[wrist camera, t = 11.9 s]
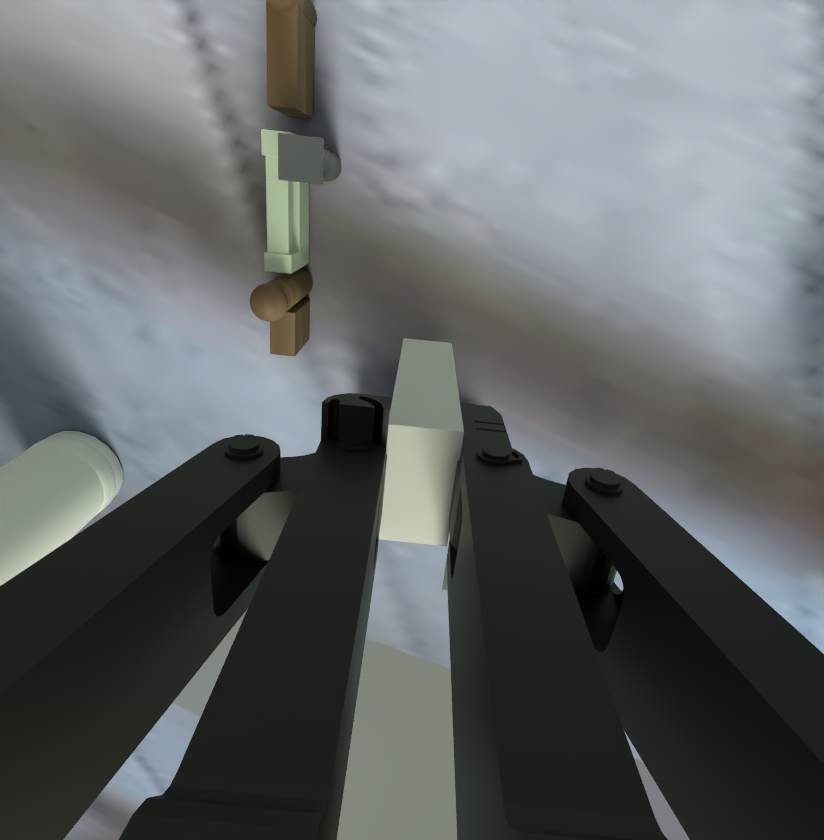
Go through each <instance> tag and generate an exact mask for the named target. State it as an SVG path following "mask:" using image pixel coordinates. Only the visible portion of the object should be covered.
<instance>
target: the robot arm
mask: <svg viewBox="0 0 824 840" xmlns="http://www.w3.org/2000/svg"><path fill="white" fill-rule="evenodd" d="M449 533H450V541H449V548H448V554H447V561H446V567H445V574H444V581H443V587H442V589H443V590H448V609H449V634H450V660H451V683H452V711H453V737H454V762H455V787H456V813H457V839H458V840H668V839H667V838H666V837H665V836H664V835H663V833H662V832H661V830H660V828H659V825H658V823H657V821H656V819H655V816H654V814H653V811H652V808H651V805H650V802H649V800H648V797H647V794H646V791H645V788H644V785H643V783H642V780H641V777H640V774H639V772H638V769H637V766H636V763H635V760H634V757H633V755H632V752H631V749H630V746H629V743H628V741H627V738H626V735H625V732H626V734H627V736H628V737H629V739H630V741H631V742H632V744H633V746H634V747H635V749H636V751H637V752H638V754H639V756H640V757H641V759H642V761H643V762H644V764H645V765H646V767H647V769H648V770H649V772H650V774H651V776H652V777H653V779H654V781H655V782H656V784H657V785H658V787H659V789H660V791H661V792H662V794H663V796H664V797H665V799H666V800H667V802H668V804H669V805H670V807H671V809H672V810H673V812H674V814H675V815H676V817H677V819H678V820H679V822H680V824H681V825H682V827H683V829H684V830H685V832H686V834H687V835H688V837H689V839H690V840H824V654H823V653H822V652H821V651H820V650H819V649H817V648H816V647H815V646H814V645H813V644H812V643H811V642H810V641H808V640H807V639H806V638H805V637H804V636H803V635H802V634H801V633H800V632H798V631H797V630H796V629H795V628H794V627H793V626H792V625H791V624H790V623H788V622H787V621H786V620H785V619H784V618H783V617H782V616H781V615H780V614H778V613H777V612H776V611H775V610H774V609H773V608H772V607H771V606H769V605H768V604H767V603H766V602H765V601H764V600H763V599H762V598H761V597H759V596H758V595H757V594H756V593H755V592H754V591H753V590H752V589H751V588H749V587H748V586H747V585H746V584H745V583H744V582H743V581H742V580H741V579H739V578H738V577H737V576H736V575H735V574H734V573H733V572H732V571H730V570H729V569H728V568H727V567H726V566H725V565H724V564H723V563H722V562H720V561H719V560H718V559H717V558H716V557H715V556H714V555H713V554H712V553H710V552H709V551H708V550H707V549H706V548H705V547H704V546H703V545H702V544H700V543H699V542H698V541H697V540H696V539H695V538H694V537H693V536H691V535H690V534H689V533H688V532H687V531H686V530H685V529H684V528H683V527H681V526H680V525H679V524H678V523H677V522H676V521H675V520H674V519H673V518H671V517H670V516H669V515H668V514H667V513H666V512H665V511H664V510H663V509H661V508H660V507H659V506H658V505H657V504H656V503H655V502H654V501H653V500H651V499H650V498H649V497H648V496H647V495H646V494H645V493H644V492H642V491H641V490H640V489H639V488H638V487H637V486H636V485H635V484H633V483H632V482H630V481H629V480H627V479H626V478H625V477H622V476H620V475H618V474H615V472H613V471H610V470H607V469H606V470H604V469H602V468H580V469H575V470H574V471H572V472H570V473H569V476H568V480H567V484H566V485H564V484H560V483H556V482H553V481H549V480H546V479H543V478H540V477H537V476H535V475H533V474H532V471H531V468H530V465H529V462H528V460H527V459H526V458H525V456H524V455H523V454H521V453H520V452H518V451H517V450H515V449H512V447H511V444H510V441H509V437H508V434H507V433H506V428H505V426H504V422H503V419H502V415H501V414H500V413H498V412H497V411H496V410H495V409H493V408H492V407H491V406H481V405H471V404H462V403H460V400H459V392H458V385H457V378H456V371H455V364H454V356H453V349H452V343H445V342H435V341H425V340H416V339H406V338H404V339H403V344H402V349H401V355H400V360H399V366H398V371H397V376H396V382H395V387H394V393H393V398H388V397H379V396H370V395H364V394H350V393H347V394H339V395H334V396H331V397H328V398H326V399H325V400H324V401H323V402H322V426H321V442H320V444H319V446H318V449H317V451H316V453H313V454H309V455H305V456H297V457H282V458H280V448H279V445H278V444H277V443H275V442H274V441H273V440H270V439H267V438H264V437H259V436H254V435H245V436H243V435H236V436H234V437H230V438H225V439H222V440H220V441H218V442H216V443H214V444H212V445H211V446H209V447H208V448H206V449H205V450H203V451H202V452H200V453H199V454H197V455H196V456H194V457H193V458H191V459H190V460H188V461H187V462H185V463H184V464H182V465H181V466H179V467H178V468H176V469H175V470H173V471H172V472H170V473H169V474H167V475H166V476H164V477H163V478H161V479H160V480H158V481H157V482H155V483H154V484H152V485H151V486H149V487H148V488H146V489H145V490H143V491H142V492H140V493H139V494H137V495H136V496H134V497H133V498H131V499H130V500H128V501H127V502H125V503H124V504H122V505H121V506H119V507H118V508H116V509H115V510H113V511H112V512H110V513H109V514H107V515H106V516H104V517H103V518H101V519H100V520H98V521H97V522H95V523H94V524H92V525H91V526H89V527H88V528H86V529H85V530H83V531H82V532H80V533H79V534H77V535H76V536H74V537H73V538H71V539H70V540H68V541H67V542H65V543H64V544H62V545H61V546H59V547H58V548H56V549H55V550H53V551H52V552H50V553H49V554H47V555H46V556H44V557H43V558H41V559H40V560H38V561H37V562H35V563H34V564H32V565H31V566H30V567H28V568H27V569H25V570H24V571H22V572H21V573H19V574H18V575H16V576H15V577H13V578H12V579H10V580H9V581H7V582H6V583H4V584H3V585H1V586H0V840H63V839H64V838H65V837H66V835H67V834H68V833H69V832H70V830H71V829H72V828H73V827H74V825H75V824H76V823H77V822H78V820H79V819H80V818H81V817H82V815H83V814H84V813H85V811H86V810H87V809H88V808H89V806H90V805H91V804H92V803H93V801H94V800H95V799H96V798H97V796H98V795H99V794H100V793H101V791H102V790H103V789H104V788H105V786H106V785H107V784H108V783H109V781H110V780H111V779H112V778H113V776H114V775H115V774H116V773H117V771H118V770H119V769H120V768H121V766H122V765H123V764H124V763H125V761H126V760H127V759H128V758H129V756H130V755H131V754H132V753H133V751H134V750H135V749H136V748H137V746H138V745H139V744H140V743H141V741H142V740H143V739H144V738H145V736H146V735H147V734H148V733H149V731H150V730H151V729H152V728H153V726H154V725H155V724H156V723H157V721H158V720H159V719H160V718H161V716H162V715H163V714H164V712H165V711H166V710H167V709H168V707H169V706H170V705H171V704H172V702H173V701H174V700H175V699H176V697H177V696H178V695H179V694H180V692H181V691H182V690H183V689H184V687H185V686H186V685H187V683H188V682H189V681H190V680H191V678H192V677H193V676H194V675H195V674H196V672H197V671H198V670H199V669H200V667H201V666H202V665H203V663H204V662H205V661H206V660H207V659H208V657H209V656H210V655H211V654H212V652H213V651H214V650H215V649H216V647H217V646H218V645H219V644H220V642H221V641H222V640H223V638H224V637H225V636H226V635H227V633H228V632H229V631H230V630H231V628H232V627H233V626H234V625H235V624H236V622H237V621H238V620H239V618H240V617H241V616H242V615H243V613H244V612H245V611H246V610H247V608H248V607H249V608H248V610H247V612H246V614H245V617H244V619H243V621H242V624H241V626H240V628H239V631H238V633H237V635H236V638H235V640H234V642H233V645H232V647H231V649H230V651H229V654H228V656H227V658H226V661H225V663H224V665H223V667H222V670H221V672H220V675H219V677H218V679H217V682H216V684H215V686H214V688H213V691H212V693H211V695H210V697H209V700H208V702H207V704H206V707H205V709H204V711H203V714H202V716H201V718H200V720H199V723H198V725H197V727H196V730H195V732H194V734H193V737H192V739H191V741H190V743H189V746H188V748H187V750H186V753H185V755H184V757H183V760H182V762H181V764H180V767H179V769H178V771H177V773H176V775H175V777H174V779H173V781H172V783H171V785H170V787H169V788H168V789H167V790H166V791H165V793H164V794H163V795H160V796H155V797H150V798H147V799H146V800H145V801H144V802H143V803H142V804H141V806H140V807H139V808H138V809H137V810H136V811H135V812H134V814H133V815H132V817H131V819H130V820H129V822H128V824H127V826H126V828H125V829H124V831H123V833H122V835H121V837H120V838H119V840H337V832H338V826H339V818H340V812H341V805H342V798H343V790H344V784H345V776H346V770H347V763H348V756H349V749H350V742H351V735H352V728H353V721H354V714H355V706H356V699H357V693H358V685H359V679H360V672H361V665H362V658H363V650H364V644H365V637H366V630H367V623H368V616H369V609H370V602H371V595H372V588H373V581H374V574H375V567H376V560H377V552H378V541H379V539H382V540H392V541H402V542H412V543H422V544H432V545H442V546H447V542H448V535H449ZM616 571H618V573H619V574H620V576H621V579H622V582H623V588H624V589H623V591H621V590H620V589H619V588H618V587H617V585H616V584H615V583H614V582H613V581H614V578H615V575H616ZM624 731H625V732H624Z"/></svg>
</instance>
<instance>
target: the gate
mask: <svg viewBox="0 0 824 840" xmlns="http://www.w3.org/2000/svg"><path fill="white" fill-rule="evenodd" d="M278 133H283V134H293V135H296V134H294V133H292V132H284V131H274V130H263V129H261V142H262V155H264V156H266V201H267V248H268V251H267V252H264V266H265V271H269V272H279V273H290V274H292V273H293V272H295V271H297V270H298V269H300V268H302V267H304V266H305V265H307V264H309V183H303V182H294V181H284V180H278Z"/></svg>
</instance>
